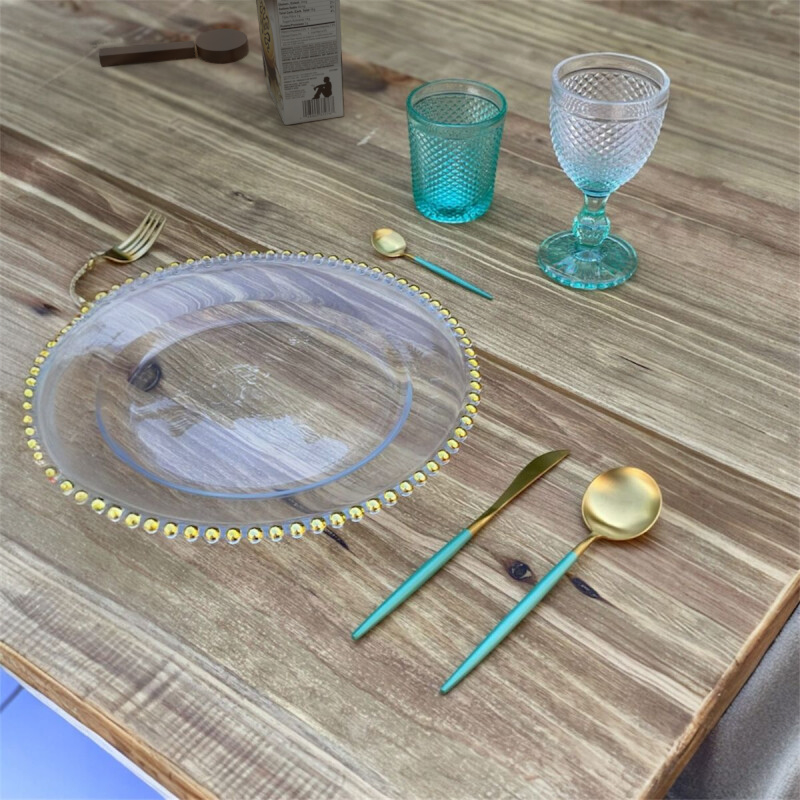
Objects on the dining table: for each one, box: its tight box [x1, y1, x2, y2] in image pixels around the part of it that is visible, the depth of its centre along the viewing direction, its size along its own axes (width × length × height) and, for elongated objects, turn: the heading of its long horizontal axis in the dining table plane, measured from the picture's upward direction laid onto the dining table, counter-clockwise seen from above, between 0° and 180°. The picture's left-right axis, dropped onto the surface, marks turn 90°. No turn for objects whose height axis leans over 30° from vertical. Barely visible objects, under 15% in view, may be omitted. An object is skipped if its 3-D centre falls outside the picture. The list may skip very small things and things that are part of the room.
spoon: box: [98, 28, 250, 67], centre depth 101 cm, size 16×6×1 cm, turn 102°
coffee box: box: [255, 0, 345, 126], centre depth 88 cm, size 9×6×16 cm
